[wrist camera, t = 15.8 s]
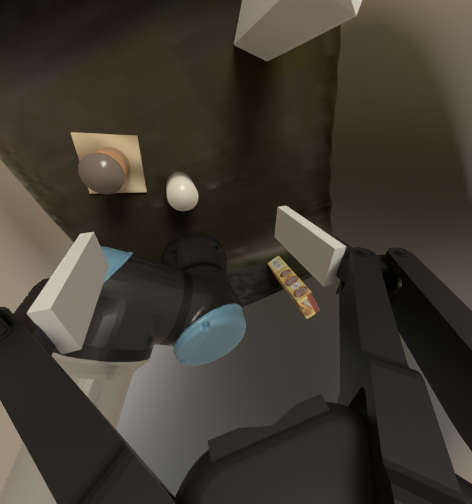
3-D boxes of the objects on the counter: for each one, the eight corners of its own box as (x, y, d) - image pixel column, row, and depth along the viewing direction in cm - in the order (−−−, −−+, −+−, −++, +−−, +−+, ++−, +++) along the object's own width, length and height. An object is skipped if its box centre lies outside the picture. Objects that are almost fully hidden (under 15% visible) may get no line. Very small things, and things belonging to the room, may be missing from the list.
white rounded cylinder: (193, 197, 41) (198, 210, 36) (167, 198, 40) (168, 211, 34) (192, 171, 38) (197, 180, 33) (164, 171, 37) (165, 181, 31)
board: (146, 191, 38) (146, 192, 37) (90, 192, 35) (89, 193, 35) (137, 135, 33) (137, 136, 33) (71, 132, 30) (70, 132, 30)
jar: (125, 146, 33) (117, 153, 26) (134, 179, 36) (128, 192, 29) (89, 146, 31) (71, 153, 25) (100, 180, 34) (87, 195, 28)
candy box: (266, 262, 57) (295, 302, 45) (279, 254, 57) (312, 292, 44) (277, 280, 62) (306, 320, 50) (289, 272, 62) (321, 310, 50)
